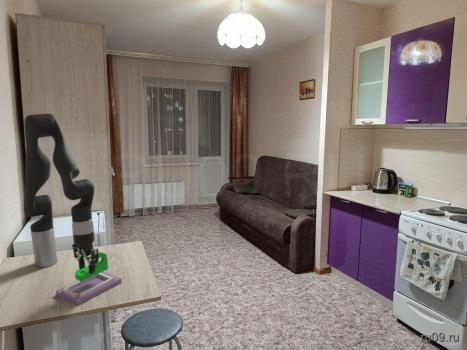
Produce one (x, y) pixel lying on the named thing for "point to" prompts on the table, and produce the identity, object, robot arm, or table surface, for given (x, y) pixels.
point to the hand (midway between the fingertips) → (87, 270)
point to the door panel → (88, 288)
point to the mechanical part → (99, 268)
